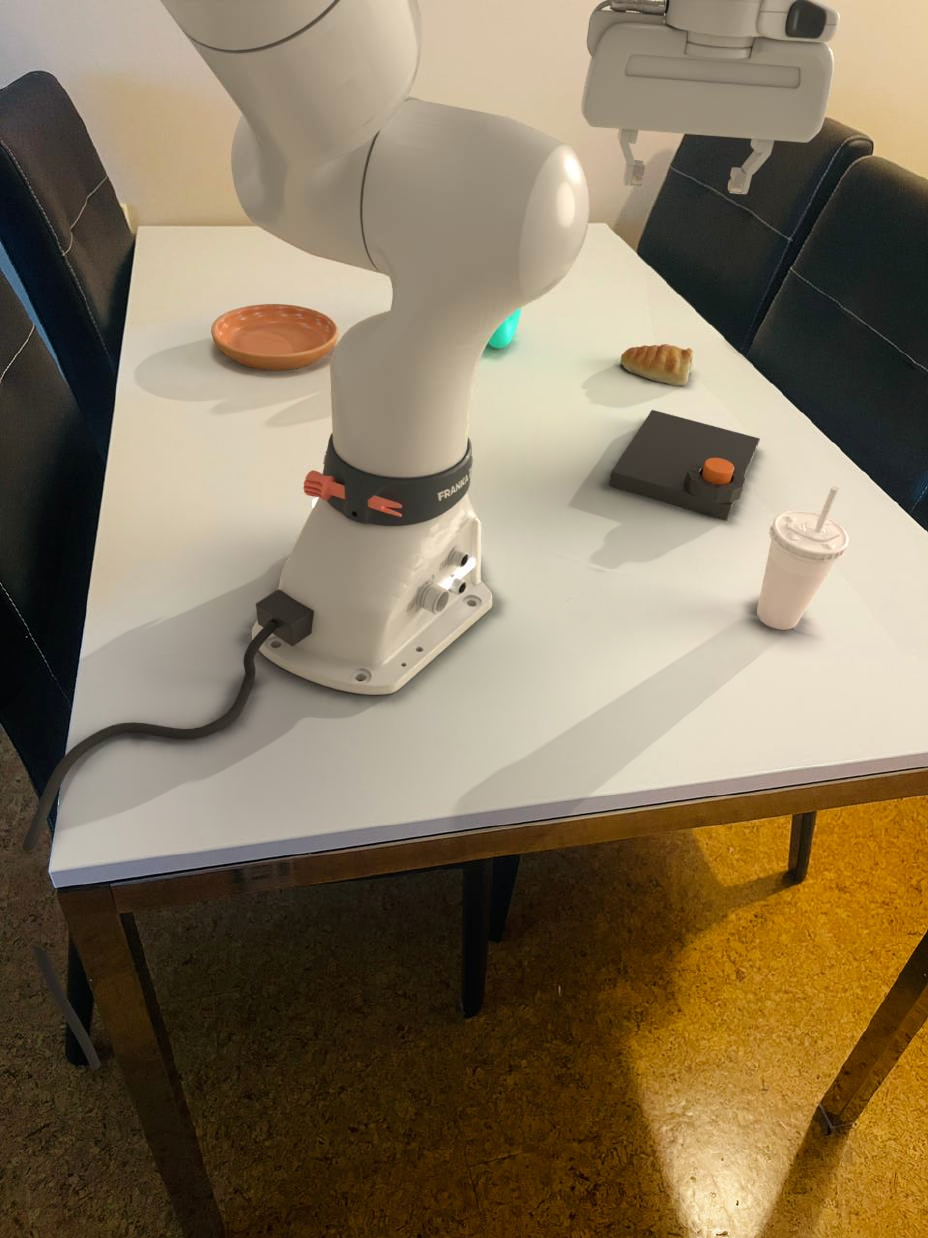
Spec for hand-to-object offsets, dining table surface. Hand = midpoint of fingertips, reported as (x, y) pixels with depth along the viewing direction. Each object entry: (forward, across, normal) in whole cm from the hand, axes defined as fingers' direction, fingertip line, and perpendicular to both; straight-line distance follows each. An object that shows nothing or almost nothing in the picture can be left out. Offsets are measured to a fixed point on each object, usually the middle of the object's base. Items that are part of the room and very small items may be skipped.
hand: (684, 188), depth 79 cm
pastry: (+30, +7, +25) cm, 40 cm away
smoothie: (+30, +12, -24) cm, 40 cm away
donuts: (+30, -17, +31) cm, 46 cm away
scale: (+30, +7, +1) cm, 30 cm away
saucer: (+30, -43, +24) cm, 58 cm away
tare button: (+26, +8, -6) cm, 28 cm away
